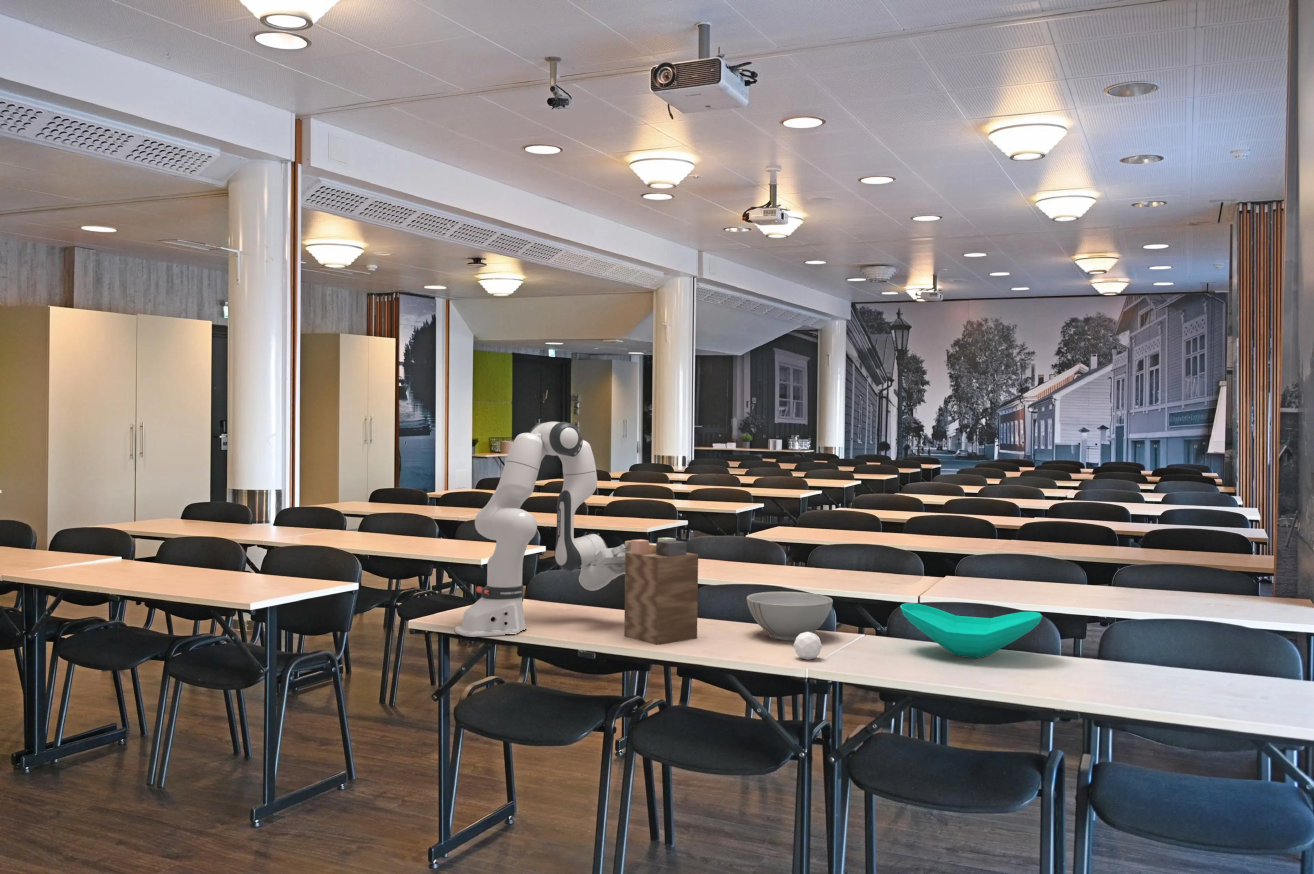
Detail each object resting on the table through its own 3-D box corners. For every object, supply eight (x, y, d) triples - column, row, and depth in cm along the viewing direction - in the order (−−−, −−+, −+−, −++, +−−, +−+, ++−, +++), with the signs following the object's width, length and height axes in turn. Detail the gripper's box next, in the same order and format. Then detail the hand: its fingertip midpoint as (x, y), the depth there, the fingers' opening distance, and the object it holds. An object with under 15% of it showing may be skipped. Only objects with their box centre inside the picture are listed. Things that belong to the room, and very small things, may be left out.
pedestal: (624, 636, 326) (625, 552, 326) (663, 630, 336) (664, 549, 336) (657, 644, 314) (658, 557, 314) (697, 638, 324) (698, 554, 324)
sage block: (657, 550, 332) (657, 538, 332) (667, 549, 334) (667, 537, 334) (666, 552, 329) (666, 539, 329) (675, 551, 331) (675, 538, 331)
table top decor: (1042, 652, 310) (1043, 607, 310) (1040, 672, 284) (1041, 623, 284) (906, 640, 324) (906, 598, 324) (892, 658, 299) (893, 612, 299)
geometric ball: (811, 670, 295) (812, 651, 290) (787, 656, 299) (788, 637, 294) (826, 653, 300) (828, 634, 295) (803, 640, 304) (804, 621, 299)
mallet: (620, 549, 335) (620, 536, 335) (637, 547, 339) (637, 535, 339) (669, 556, 317) (669, 543, 317) (686, 555, 321) (686, 542, 321)
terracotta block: (630, 553, 325) (630, 540, 324) (640, 552, 327) (640, 539, 327) (638, 554, 321) (639, 541, 321) (648, 553, 324) (649, 540, 324)
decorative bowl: (732, 639, 323) (733, 600, 323) (765, 625, 347) (765, 589, 347) (815, 648, 311) (816, 608, 311) (843, 633, 334) (844, 595, 334)
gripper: (584, 556, 338) (607, 538, 329) (633, 552, 351) (657, 534, 342) (590, 574, 335) (613, 556, 326) (639, 569, 349) (663, 552, 340)
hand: (636, 545), depth 334 cm, fingers open, 8 cm apart
